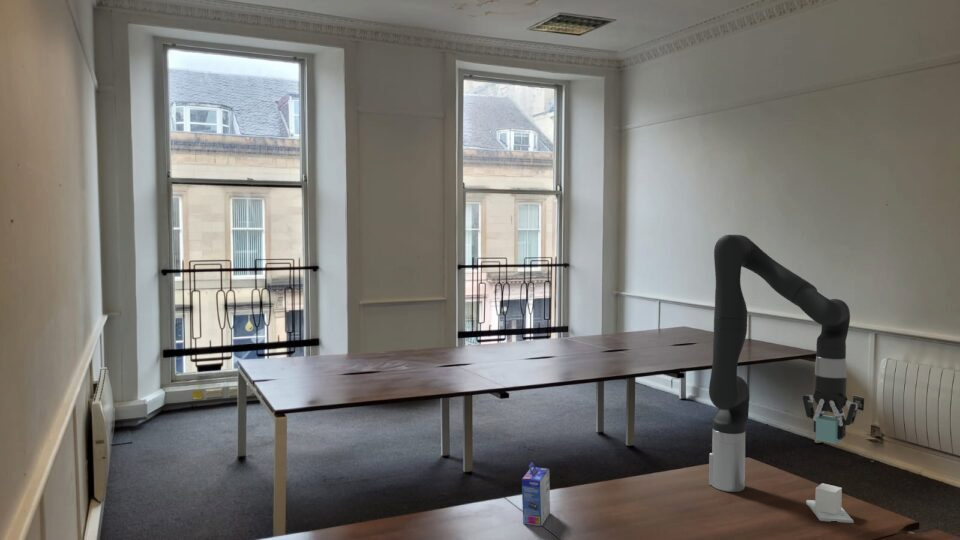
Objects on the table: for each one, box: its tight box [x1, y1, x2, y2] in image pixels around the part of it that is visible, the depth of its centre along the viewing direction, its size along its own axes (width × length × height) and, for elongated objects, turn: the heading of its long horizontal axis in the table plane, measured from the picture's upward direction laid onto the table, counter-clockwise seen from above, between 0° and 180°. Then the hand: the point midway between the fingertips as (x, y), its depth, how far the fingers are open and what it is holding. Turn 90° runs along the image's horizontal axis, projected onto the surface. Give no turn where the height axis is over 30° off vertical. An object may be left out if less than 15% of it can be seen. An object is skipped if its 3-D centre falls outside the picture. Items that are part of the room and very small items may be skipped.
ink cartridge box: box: [521, 461, 551, 527], centre depth 180 cm, size 10×6×14 cm, turn 161°
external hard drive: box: [805, 499, 855, 524], centre depth 183 cm, size 2×8×12 cm
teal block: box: [815, 414, 844, 445], centre depth 182 cm, size 5×5×6 cm
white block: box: [814, 482, 843, 515], centre depth 183 cm, size 5×5×6 cm
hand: (829, 436), depth 182 cm, fingers closed on teal block, 5 cm apart
